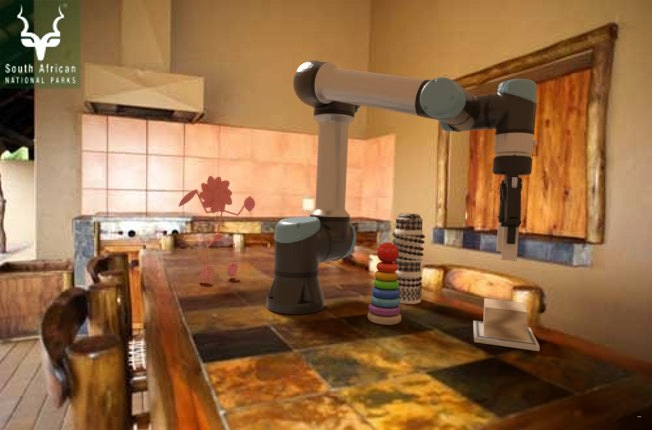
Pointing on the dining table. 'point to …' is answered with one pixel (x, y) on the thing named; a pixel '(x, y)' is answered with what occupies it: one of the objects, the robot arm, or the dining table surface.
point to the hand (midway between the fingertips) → (505, 255)
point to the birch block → (505, 319)
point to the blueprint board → (505, 339)
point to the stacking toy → (385, 288)
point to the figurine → (217, 198)
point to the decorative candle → (409, 256)
